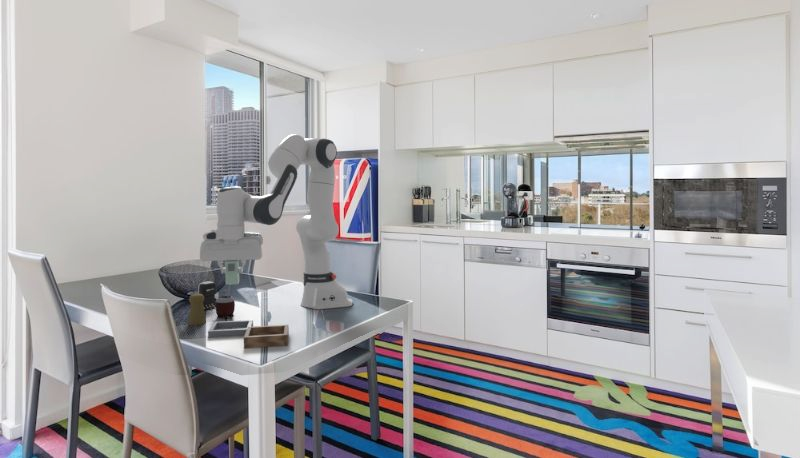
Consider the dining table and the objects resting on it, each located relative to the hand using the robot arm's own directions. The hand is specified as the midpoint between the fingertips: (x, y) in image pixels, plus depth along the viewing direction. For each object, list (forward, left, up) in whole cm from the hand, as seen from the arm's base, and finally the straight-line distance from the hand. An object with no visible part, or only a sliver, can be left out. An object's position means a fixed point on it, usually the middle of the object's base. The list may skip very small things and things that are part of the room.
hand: (232, 273), depth 156 cm
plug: (0, 0, -4) cm, 4 cm away
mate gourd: (+6, -21, -21) cm, 30 cm away
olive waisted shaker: (+15, -14, -21) cm, 29 cm away
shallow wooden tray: (-12, +12, -21) cm, 27 cm away
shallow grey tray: (+1, -1, -21) cm, 21 cm away
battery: (+15, -34, -21) cm, 42 cm away
